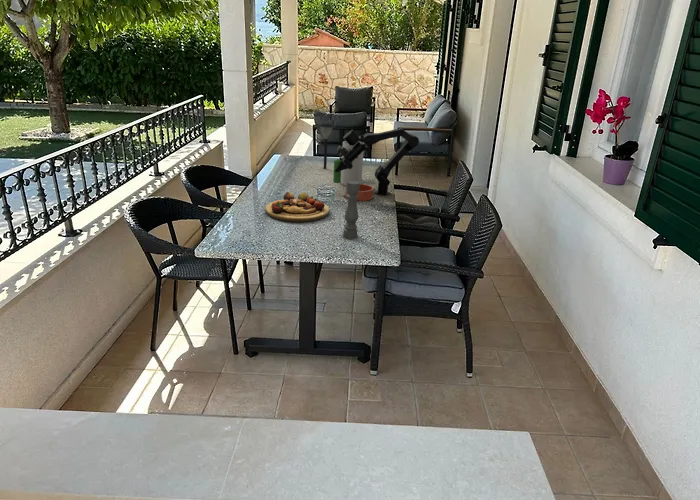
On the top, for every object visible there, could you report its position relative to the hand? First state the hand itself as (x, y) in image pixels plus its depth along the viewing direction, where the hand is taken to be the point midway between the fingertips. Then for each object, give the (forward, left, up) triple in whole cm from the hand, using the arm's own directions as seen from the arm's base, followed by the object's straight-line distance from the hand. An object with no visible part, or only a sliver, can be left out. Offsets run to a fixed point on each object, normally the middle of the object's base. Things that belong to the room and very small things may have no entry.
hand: (334, 170), depth 282 cm
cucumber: (-1, +1, -7) cm, 7 cm away
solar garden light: (-44, -35, -13) cm, 57 cm away
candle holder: (+52, +42, -13) cm, 68 cm away
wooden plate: (+40, +4, -13) cm, 43 cm away
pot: (-3, +15, -13) cm, 20 cm away
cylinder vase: (-23, -2, -13) cm, 26 cm away
